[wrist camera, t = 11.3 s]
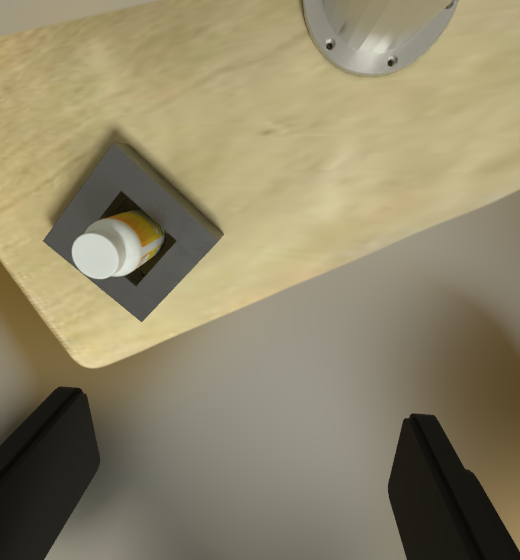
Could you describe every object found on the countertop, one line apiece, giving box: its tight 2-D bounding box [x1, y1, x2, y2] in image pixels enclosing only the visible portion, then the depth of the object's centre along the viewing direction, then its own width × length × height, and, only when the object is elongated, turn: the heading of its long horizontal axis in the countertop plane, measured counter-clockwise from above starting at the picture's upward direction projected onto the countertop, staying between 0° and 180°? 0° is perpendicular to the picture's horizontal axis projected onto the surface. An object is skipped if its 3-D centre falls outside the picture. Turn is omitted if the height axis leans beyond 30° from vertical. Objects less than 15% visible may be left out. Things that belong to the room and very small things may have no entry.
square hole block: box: [43, 143, 224, 322], centre depth 35 cm, size 13×13×3 cm
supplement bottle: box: [72, 210, 165, 279], centre depth 32 cm, size 5×5×10 cm
